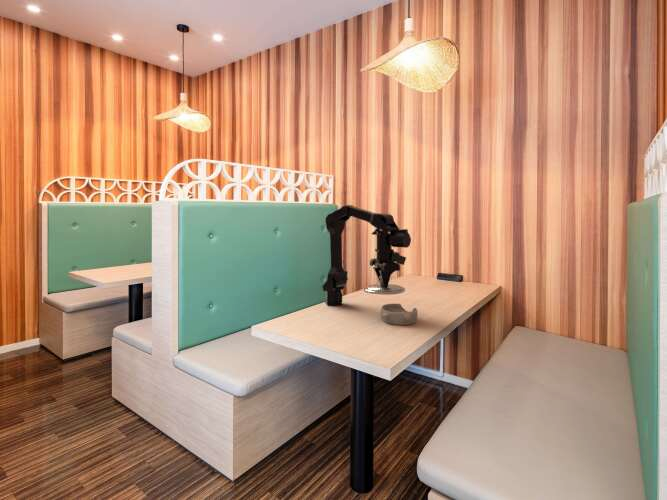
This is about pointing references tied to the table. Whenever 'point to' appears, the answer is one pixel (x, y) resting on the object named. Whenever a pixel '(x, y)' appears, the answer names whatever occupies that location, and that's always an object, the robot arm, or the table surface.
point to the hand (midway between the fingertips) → (384, 286)
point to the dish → (398, 314)
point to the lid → (384, 288)
